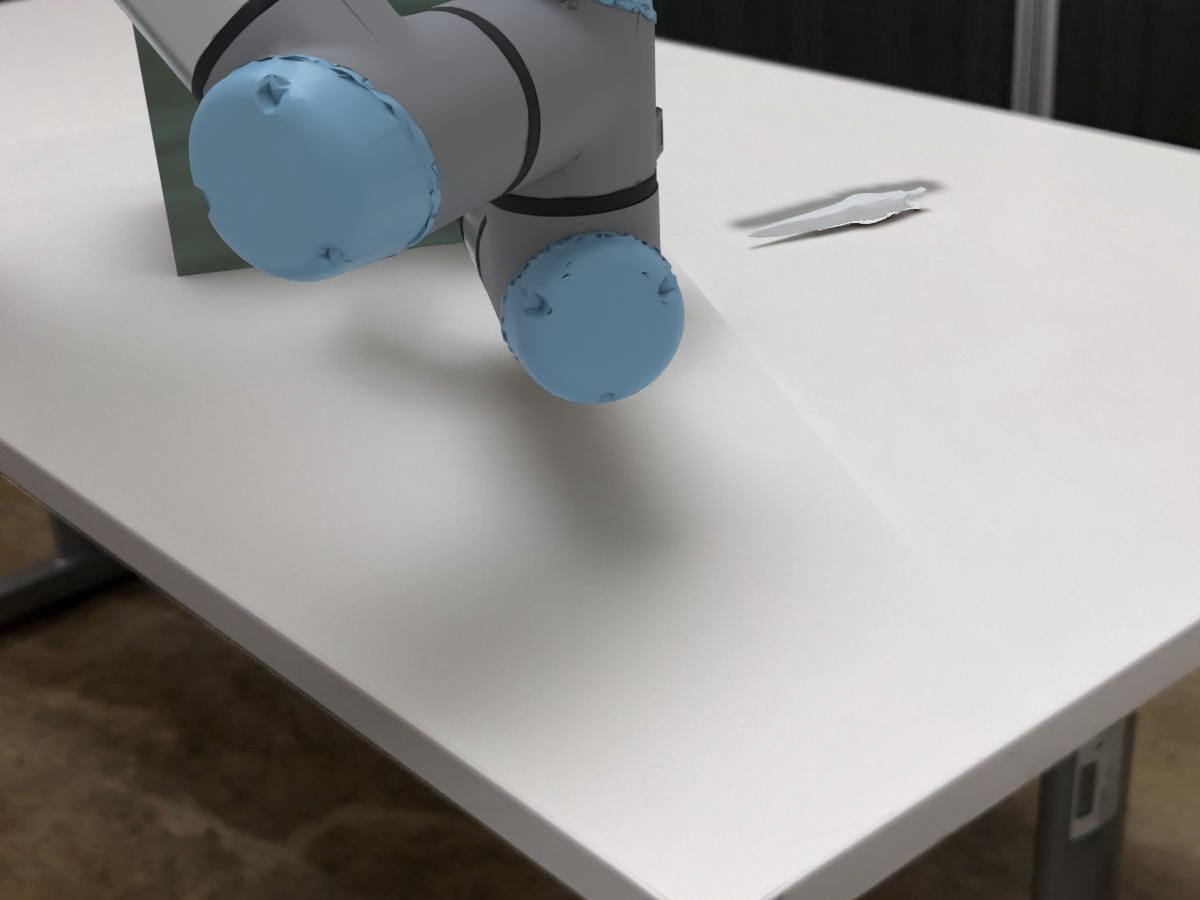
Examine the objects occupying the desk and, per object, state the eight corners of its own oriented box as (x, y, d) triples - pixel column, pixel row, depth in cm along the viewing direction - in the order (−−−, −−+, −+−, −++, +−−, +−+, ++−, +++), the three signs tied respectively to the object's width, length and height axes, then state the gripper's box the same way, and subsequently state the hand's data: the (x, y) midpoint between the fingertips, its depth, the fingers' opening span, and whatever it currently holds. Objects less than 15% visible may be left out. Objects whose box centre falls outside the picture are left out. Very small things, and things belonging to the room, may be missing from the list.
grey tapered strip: (913, 202, 114) (914, 178, 113) (936, 212, 112) (937, 187, 111) (736, 242, 109) (736, 216, 108) (757, 253, 106) (757, 227, 106)
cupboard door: (530, 285, 103) (503, -101, 92) (180, 330, 99) (108, -69, 88) (511, 250, 109) (483, -116, 98) (181, 291, 105) (113, -86, 94)
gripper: (293, 321, 78) (275, 195, 96) (774, 261, 82) (668, 151, 101) (272, 175, 74) (257, 72, 93) (775, 120, 79) (665, 33, 97)
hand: (471, 113), depth 97 cm, fingers open, 13 cm apart
